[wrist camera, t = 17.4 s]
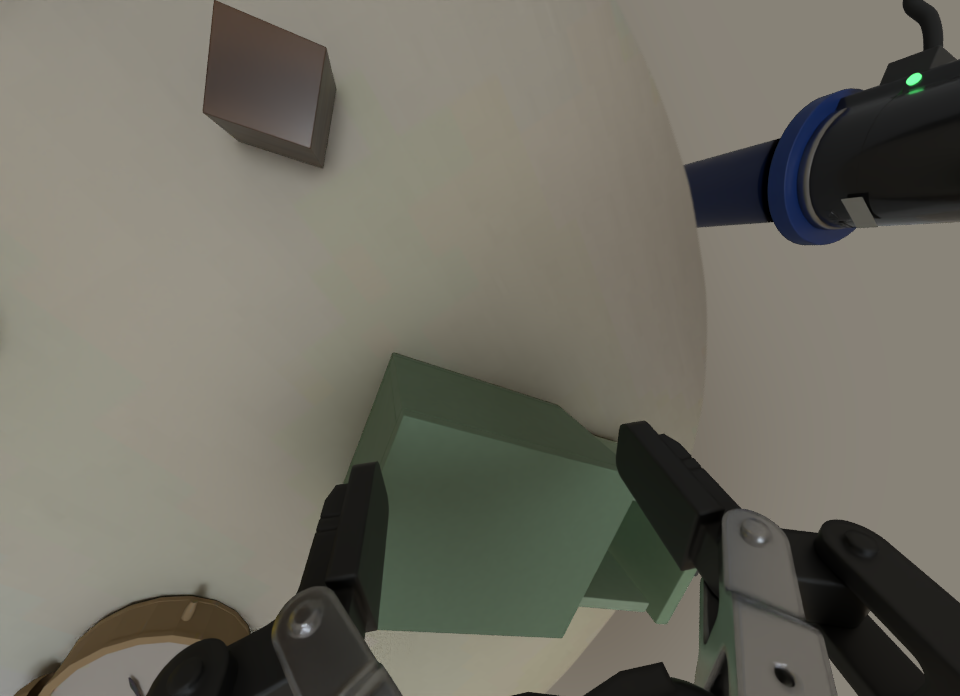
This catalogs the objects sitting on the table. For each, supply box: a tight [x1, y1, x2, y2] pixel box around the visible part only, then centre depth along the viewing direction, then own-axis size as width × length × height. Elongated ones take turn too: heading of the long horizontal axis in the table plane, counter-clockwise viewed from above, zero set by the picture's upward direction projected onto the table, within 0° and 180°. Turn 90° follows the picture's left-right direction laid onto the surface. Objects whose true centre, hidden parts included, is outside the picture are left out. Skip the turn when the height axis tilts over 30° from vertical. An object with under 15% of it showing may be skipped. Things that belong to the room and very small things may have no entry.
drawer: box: [579, 436, 699, 624], centre depth 28 cm, size 18×10×9 cm, turn 67°
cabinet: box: [343, 353, 634, 638], centre depth 24 cm, size 15×12×11 cm
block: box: [203, 0, 336, 168], centre depth 18 cm, size 4×4×4 cm
